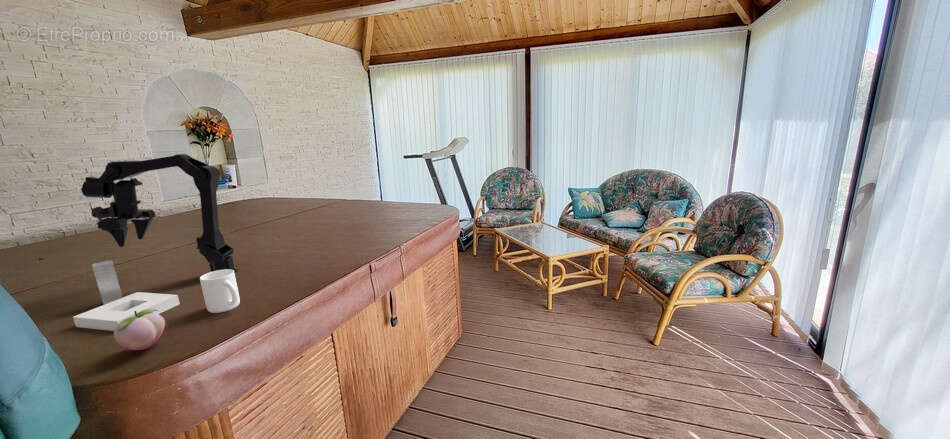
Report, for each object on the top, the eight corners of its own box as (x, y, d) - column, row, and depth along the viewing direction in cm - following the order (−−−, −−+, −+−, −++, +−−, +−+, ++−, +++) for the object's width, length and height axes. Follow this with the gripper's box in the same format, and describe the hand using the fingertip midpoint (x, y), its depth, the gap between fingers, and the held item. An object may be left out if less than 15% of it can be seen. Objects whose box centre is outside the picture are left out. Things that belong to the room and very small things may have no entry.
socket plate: (139, 300, 116) (137, 292, 115) (179, 304, 112) (177, 295, 111) (76, 326, 101) (72, 316, 100) (120, 331, 97) (117, 321, 96)
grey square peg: (122, 298, 118) (112, 260, 115) (123, 302, 115) (112, 263, 112) (103, 303, 115) (92, 263, 112) (104, 307, 112) (92, 267, 109)
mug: (253, 306, 108) (246, 273, 106) (223, 319, 102) (215, 284, 99) (231, 298, 114) (224, 267, 112) (201, 310, 108) (193, 277, 105)
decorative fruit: (142, 339, 92) (132, 303, 90) (176, 337, 93) (167, 301, 90) (108, 362, 83) (96, 322, 81) (146, 359, 84) (134, 320, 81)
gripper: (118, 193, 132) (123, 235, 135) (73, 202, 114) (81, 250, 118) (153, 194, 134) (158, 235, 138) (115, 203, 116) (122, 251, 120)
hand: (131, 242), depth 128 cm, fingers open, 9 cm apart
